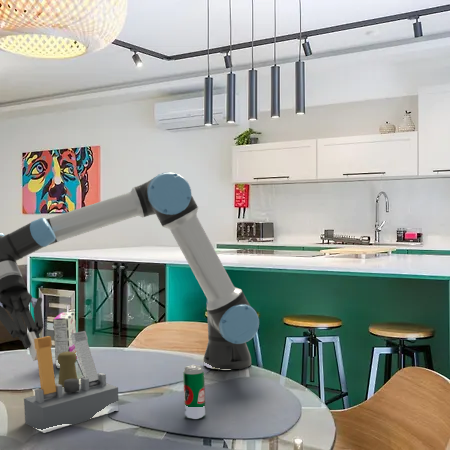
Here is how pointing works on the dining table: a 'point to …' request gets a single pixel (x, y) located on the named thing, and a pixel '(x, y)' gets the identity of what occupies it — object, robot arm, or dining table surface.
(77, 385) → the button
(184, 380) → the soda can
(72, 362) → the cork
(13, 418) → the dining table surface
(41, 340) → the orange lever
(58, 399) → the console
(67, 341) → the candy bar box
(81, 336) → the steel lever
